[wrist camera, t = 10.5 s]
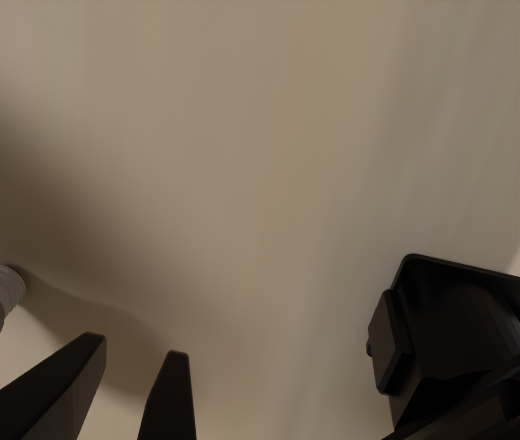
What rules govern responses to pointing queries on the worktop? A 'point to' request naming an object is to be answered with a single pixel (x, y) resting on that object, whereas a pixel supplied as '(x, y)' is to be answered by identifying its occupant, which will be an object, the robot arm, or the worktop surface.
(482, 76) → the worktop surface
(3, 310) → the light bulb
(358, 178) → the worktop surface
